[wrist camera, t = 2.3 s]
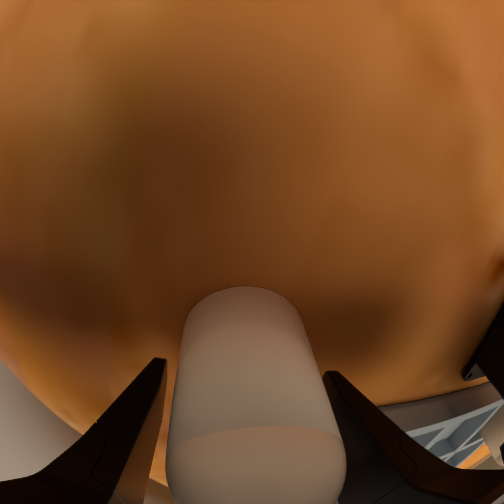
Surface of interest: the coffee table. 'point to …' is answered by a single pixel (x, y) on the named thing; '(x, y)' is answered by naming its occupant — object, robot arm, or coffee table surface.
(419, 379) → the coffee table surface
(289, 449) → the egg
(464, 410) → the grey compartment tray
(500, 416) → the beige rounded cylinder
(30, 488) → the robot arm
